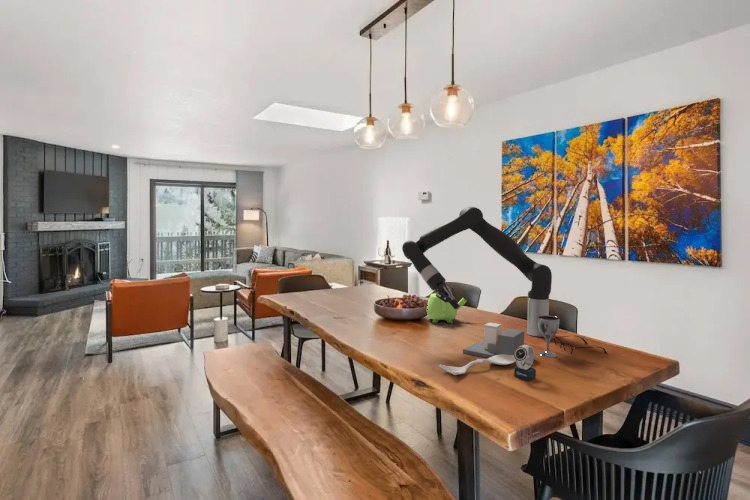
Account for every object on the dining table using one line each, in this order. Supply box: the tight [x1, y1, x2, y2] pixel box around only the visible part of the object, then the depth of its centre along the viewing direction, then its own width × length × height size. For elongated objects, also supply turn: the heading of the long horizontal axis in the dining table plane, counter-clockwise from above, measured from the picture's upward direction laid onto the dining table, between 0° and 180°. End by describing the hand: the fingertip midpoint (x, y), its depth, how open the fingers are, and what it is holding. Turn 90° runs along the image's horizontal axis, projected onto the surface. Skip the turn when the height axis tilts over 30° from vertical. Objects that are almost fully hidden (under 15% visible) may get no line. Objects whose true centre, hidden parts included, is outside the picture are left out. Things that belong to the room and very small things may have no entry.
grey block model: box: [462, 328, 525, 359], centre depth 172 cm, size 20×15×10 cm
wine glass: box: [537, 315, 560, 358], centre depth 169 cm, size 8×8×15 cm
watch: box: [513, 344, 537, 382], centre depth 145 cm, size 6×8×11 cm
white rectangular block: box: [483, 322, 503, 349], centre depth 172 cm, size 5×5×10 cm
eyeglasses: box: [552, 335, 607, 355], centre depth 177 cm, size 16×16×4 cm
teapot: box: [426, 293, 468, 323], centre depth 230 cm, size 25×22×16 cm
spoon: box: [438, 354, 516, 376], centre depth 154 cm, size 9×32×4 cm, turn 117°
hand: (457, 308), depth 181 cm, fingers closed
